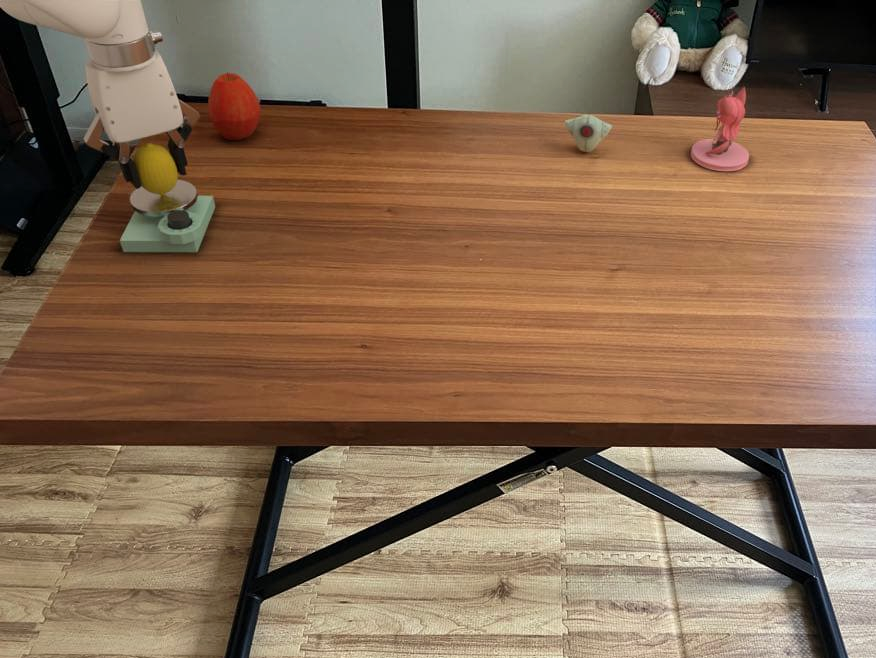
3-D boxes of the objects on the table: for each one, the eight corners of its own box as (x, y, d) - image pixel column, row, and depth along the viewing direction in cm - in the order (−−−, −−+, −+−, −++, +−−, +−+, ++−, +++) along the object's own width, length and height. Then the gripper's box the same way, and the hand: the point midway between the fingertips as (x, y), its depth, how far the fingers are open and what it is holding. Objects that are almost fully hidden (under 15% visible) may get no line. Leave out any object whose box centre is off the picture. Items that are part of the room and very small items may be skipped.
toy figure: (713, 138, 153) (727, 71, 144) (759, 159, 148) (775, 91, 140) (679, 156, 148) (690, 87, 139) (724, 178, 143) (739, 108, 135)
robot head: (610, 149, 148) (614, 111, 144) (608, 161, 145) (612, 123, 141) (563, 144, 149) (566, 106, 144) (560, 156, 146) (563, 117, 141)
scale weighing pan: (145, 223, 120) (143, 218, 119) (121, 195, 125) (120, 190, 124) (208, 204, 124) (206, 199, 123) (183, 177, 129) (181, 172, 128)
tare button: (188, 230, 119) (185, 221, 118) (167, 230, 119) (164, 220, 118) (193, 219, 122) (190, 210, 120) (172, 219, 121) (169, 210, 120)
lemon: (185, 184, 126) (171, 132, 120) (180, 204, 122) (166, 152, 116) (145, 186, 125) (129, 134, 120) (139, 206, 121) (122, 153, 116)
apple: (267, 144, 144) (255, 81, 137) (215, 149, 142) (201, 86, 135) (262, 122, 150) (251, 60, 143) (212, 127, 148) (198, 64, 140)
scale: (202, 255, 121) (196, 234, 118) (121, 255, 120) (114, 233, 118) (221, 206, 130) (216, 186, 128) (146, 206, 129) (140, 185, 127)
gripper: (176, 25, 115) (206, 150, 128) (39, 52, 107) (85, 184, 120) (199, 44, 111) (227, 172, 124) (58, 74, 103) (104, 207, 116)
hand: (157, 176), depth 122 cm, fingers open, 5 cm apart
